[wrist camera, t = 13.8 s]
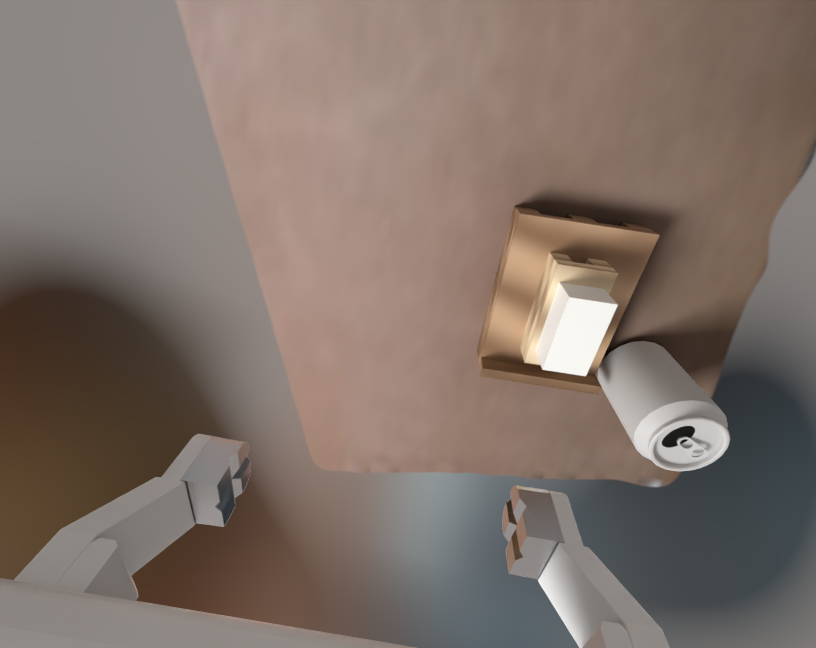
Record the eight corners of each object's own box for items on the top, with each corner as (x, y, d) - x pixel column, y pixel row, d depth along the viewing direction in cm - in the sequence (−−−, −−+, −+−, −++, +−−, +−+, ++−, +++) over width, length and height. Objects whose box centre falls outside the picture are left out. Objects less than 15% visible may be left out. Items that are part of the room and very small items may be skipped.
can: (635, 324, 40) (701, 399, 30) (682, 360, 42) (761, 444, 31) (580, 369, 44) (622, 452, 33) (626, 402, 45) (680, 490, 35)
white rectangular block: (559, 282, 32) (569, 297, 30) (604, 288, 32) (617, 304, 30) (535, 350, 36) (542, 369, 33) (575, 356, 36) (585, 376, 33)
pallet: (549, 252, 34) (557, 264, 32) (605, 260, 34) (618, 273, 32) (519, 345, 39) (524, 362, 37) (567, 353, 39) (576, 370, 37)
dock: (514, 205, 36) (524, 219, 31) (644, 225, 35) (671, 242, 31) (477, 349, 43) (480, 376, 39) (582, 365, 43) (597, 394, 39)
